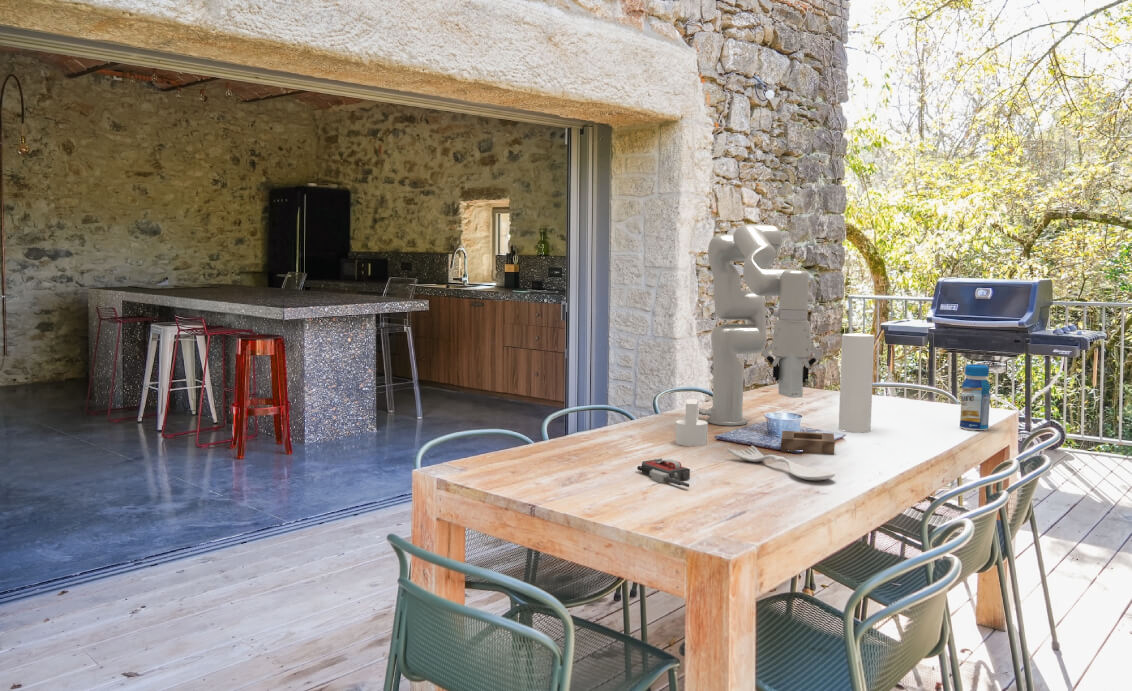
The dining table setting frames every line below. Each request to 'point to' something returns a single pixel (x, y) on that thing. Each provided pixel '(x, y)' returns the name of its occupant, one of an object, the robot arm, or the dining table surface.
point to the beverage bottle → (975, 398)
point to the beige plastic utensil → (794, 468)
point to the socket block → (808, 442)
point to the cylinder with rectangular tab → (691, 427)
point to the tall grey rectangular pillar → (856, 382)
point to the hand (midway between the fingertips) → (790, 380)
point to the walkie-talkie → (665, 471)
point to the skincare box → (791, 376)
